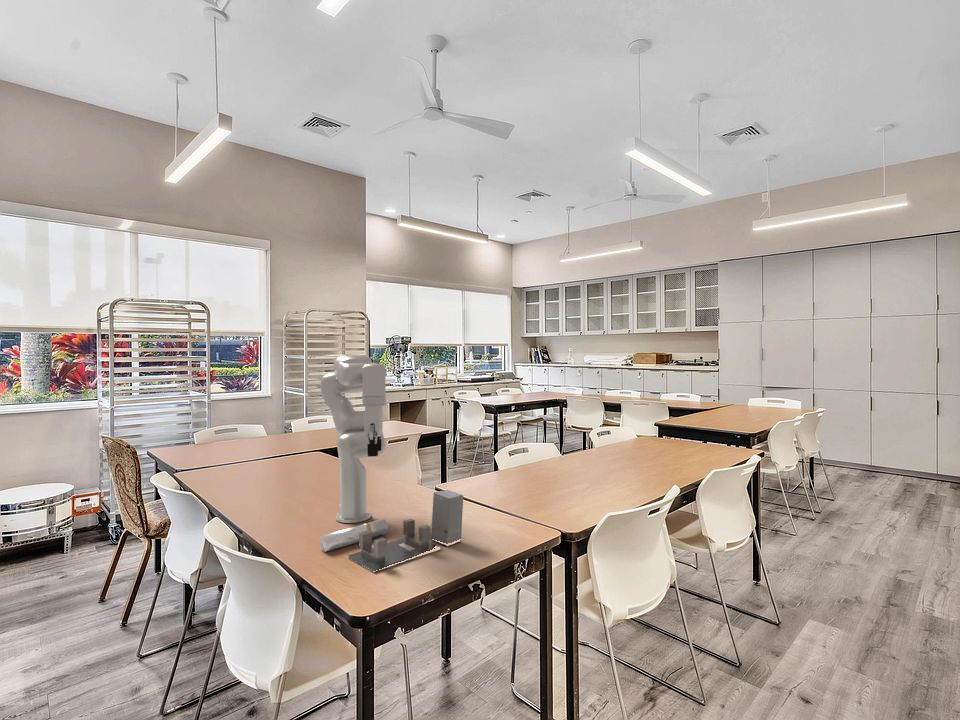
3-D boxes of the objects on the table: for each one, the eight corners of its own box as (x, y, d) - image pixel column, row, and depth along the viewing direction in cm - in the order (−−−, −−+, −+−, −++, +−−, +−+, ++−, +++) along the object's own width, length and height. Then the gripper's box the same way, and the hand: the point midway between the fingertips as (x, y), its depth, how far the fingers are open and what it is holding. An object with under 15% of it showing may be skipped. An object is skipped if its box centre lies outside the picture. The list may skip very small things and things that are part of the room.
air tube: (327, 554, 155) (327, 537, 155) (319, 549, 159) (319, 533, 159) (388, 535, 170) (388, 520, 170) (380, 532, 174) (379, 517, 174)
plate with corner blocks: (348, 558, 152) (348, 533, 152) (413, 537, 168) (413, 515, 168) (374, 573, 142) (373, 546, 142) (440, 549, 158) (440, 525, 158)
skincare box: (430, 540, 166) (430, 492, 166) (447, 535, 171) (446, 488, 171) (447, 548, 160) (447, 497, 160) (464, 542, 165) (464, 493, 165)
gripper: (366, 399, 176) (367, 449, 176) (358, 403, 158) (358, 458, 158) (388, 399, 176) (389, 448, 176) (382, 403, 159) (383, 458, 159)
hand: (374, 453), depth 167 cm, fingers open, 9 cm apart
